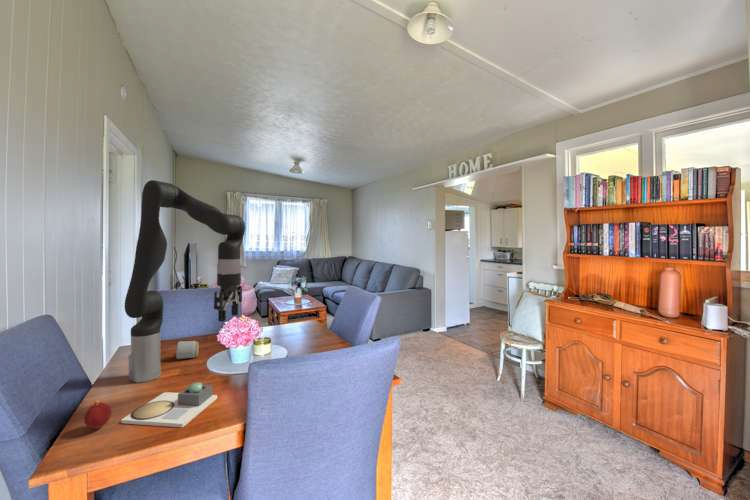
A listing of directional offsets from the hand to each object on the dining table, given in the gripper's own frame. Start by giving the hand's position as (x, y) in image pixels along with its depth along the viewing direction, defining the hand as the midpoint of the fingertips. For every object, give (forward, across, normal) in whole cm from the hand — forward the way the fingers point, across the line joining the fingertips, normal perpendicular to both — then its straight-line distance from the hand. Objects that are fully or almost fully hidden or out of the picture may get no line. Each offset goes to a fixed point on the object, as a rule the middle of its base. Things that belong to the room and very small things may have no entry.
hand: (228, 318), depth 112 cm
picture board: (+26, +13, -11) cm, 31 cm away
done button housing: (+26, +9, -6) cm, 28 cm away
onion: (+26, +25, -24) cm, 44 cm away
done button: (+23, +9, -6) cm, 25 cm away
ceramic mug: (+27, -30, -35) cm, 53 cm away
